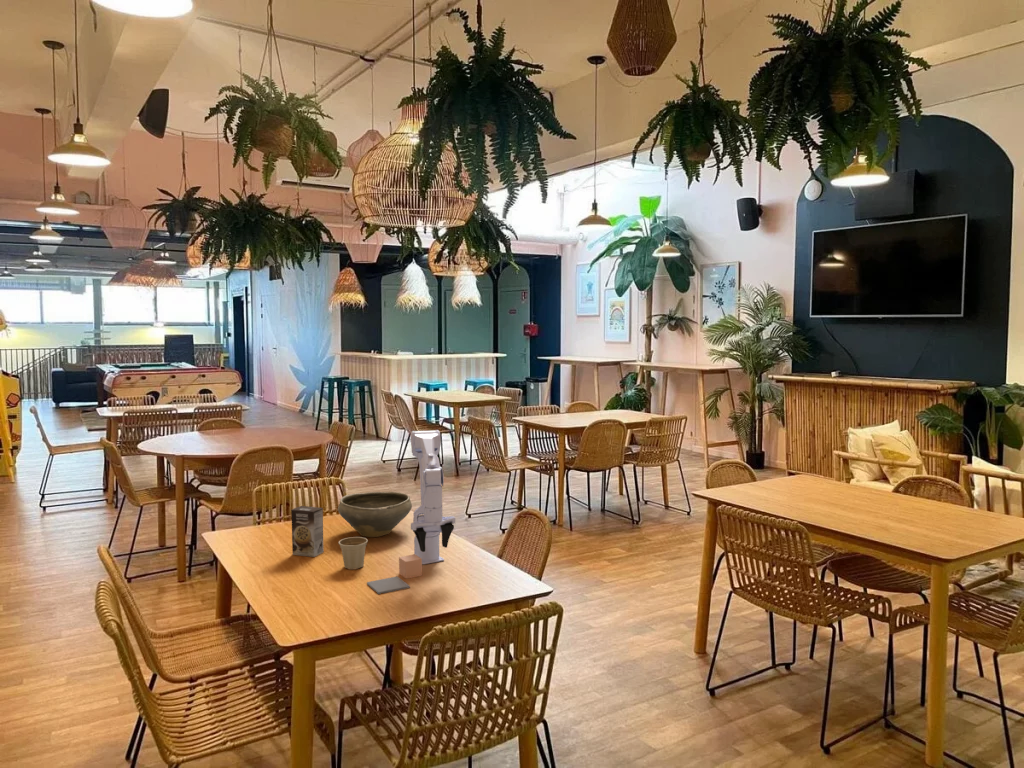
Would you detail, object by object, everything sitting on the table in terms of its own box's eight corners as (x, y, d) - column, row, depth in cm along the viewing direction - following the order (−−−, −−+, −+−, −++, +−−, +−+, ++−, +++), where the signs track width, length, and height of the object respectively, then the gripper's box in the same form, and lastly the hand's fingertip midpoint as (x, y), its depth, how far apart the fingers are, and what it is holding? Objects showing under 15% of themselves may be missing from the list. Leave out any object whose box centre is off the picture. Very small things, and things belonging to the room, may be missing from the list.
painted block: (399, 573, 235) (398, 557, 235) (415, 570, 238) (414, 554, 238) (406, 578, 230) (405, 561, 230) (422, 575, 233) (421, 558, 233)
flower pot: (345, 573, 236) (344, 547, 235) (335, 565, 243) (334, 540, 243) (372, 567, 241) (372, 542, 240) (361, 560, 249) (361, 535, 248)
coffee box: (291, 555, 254) (290, 509, 253) (302, 549, 261) (300, 505, 259) (314, 557, 252) (313, 511, 250) (324, 551, 258) (323, 506, 257)
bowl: (325, 533, 281) (324, 497, 280) (386, 520, 300) (385, 486, 299) (363, 548, 261) (362, 509, 260) (426, 533, 279) (425, 496, 278)
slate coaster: (366, 584, 226) (366, 582, 226) (397, 578, 231) (397, 576, 231) (378, 594, 217) (378, 592, 217) (409, 587, 222) (409, 585, 222)
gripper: (417, 512, 221) (418, 556, 222) (459, 505, 229) (460, 548, 230) (407, 507, 227) (408, 550, 228) (449, 501, 235) (449, 542, 236)
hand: (433, 548), depth 229 cm, fingers open, 7 cm apart
